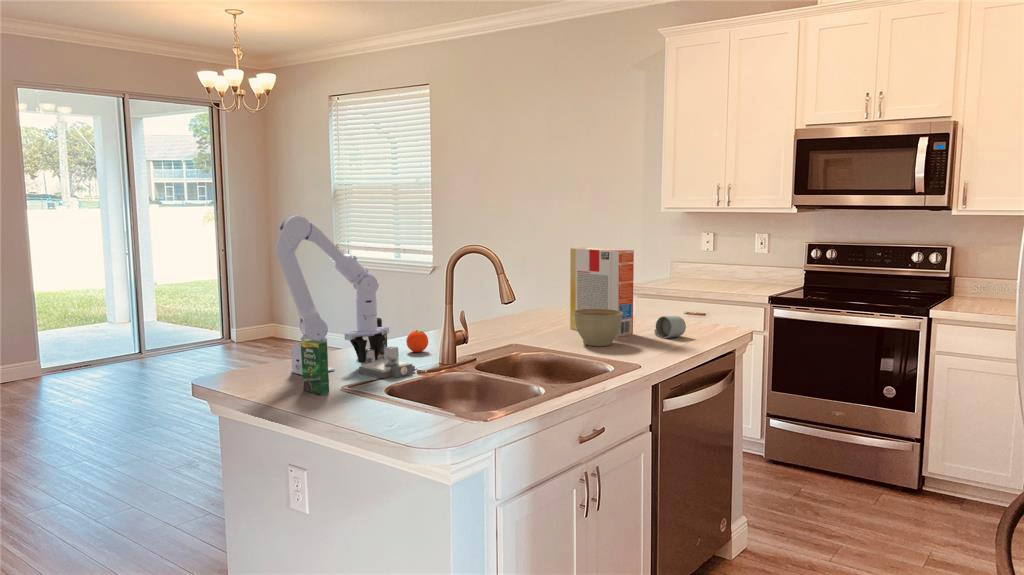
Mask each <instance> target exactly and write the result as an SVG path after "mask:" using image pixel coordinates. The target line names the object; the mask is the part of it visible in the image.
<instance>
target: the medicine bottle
mask: <svg viewBox="0 0 1024 575" xmlns="http://www.w3.org/2000/svg"><path fill="white" fill-rule="evenodd" d="M382 324H383V320H382V318H381V317H379V316H377V327H383V325H382ZM382 335H384V336H385V340H384V341H383V343H382V345H381V348H380V351H379V355H378V359H380V358H382V357H384V348H385V347H388V334H382ZM363 339H364V340H367V344H366V348H370V342H369V339H368V337H363Z"/></svg>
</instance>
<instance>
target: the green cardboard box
mask: <svg viewBox="0 0 1024 575" xmlns="http://www.w3.org/2000/svg"><path fill="white" fill-rule="evenodd" d="M299 342H300V343H301V358H302V375H301V376H302V387H303V391H304V392H308V393H312V394H316V395H320V396H323V395H327V394H329V393H330V378H329V371H328V367H329V356H328V355H327V348H328V341H327V342H324V341H316V340H310V339H307V340H302V341H301V340H300V341H299Z"/></svg>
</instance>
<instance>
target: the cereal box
mask: <svg viewBox="0 0 1024 575" xmlns="http://www.w3.org/2000/svg"><path fill="white" fill-rule="evenodd" d="M569 251H570V254H569V255H570V257H569V258H570V260H569V261H570V278H569V280H570V281H569V282H570V284H569V286H570V291H569V292H570V296H569V297H570V298H569V300H570V305H569V306H570V309H569V310H570V311H569V312H570V314H569V316H570V317H569V318H570V320H569V321H570V323H569V324H570V326H569V327H570V330H573V329H574V331H578V330H577V328H576V324H575V316H574V311H575V310H580V309H612V310H618V311H621V312H623V316H622V323H621V327H620V330H619V332H618V334H617V335H616V337H615V338H620V337H626V336H631V335H633V334H634V274H635V273H634V269H635V268H634V266H635V264H634V263H635V262H634V260H635V259H634V258H635V257H634V254H635V251H634V249H622V248H621V249H620V248H606V247H605V248H600V247H587V246H586V247H572V248H570V250H569Z"/></svg>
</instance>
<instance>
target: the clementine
mask: <svg viewBox="0 0 1024 575" xmlns="http://www.w3.org/2000/svg"><path fill="white" fill-rule="evenodd" d="M426 333H427V334H429V332H428V331H426V330H420V329H419V330H418V329H416V330H413V331H411V332H410V333H409V334H408V335H407V337H406V346H407V348H408V349H409V350H410V351H412V352H413V353H421V352H423V351H425V350H426V349H427V347H428V345H429V337H428V335H427V334H426Z"/></svg>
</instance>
